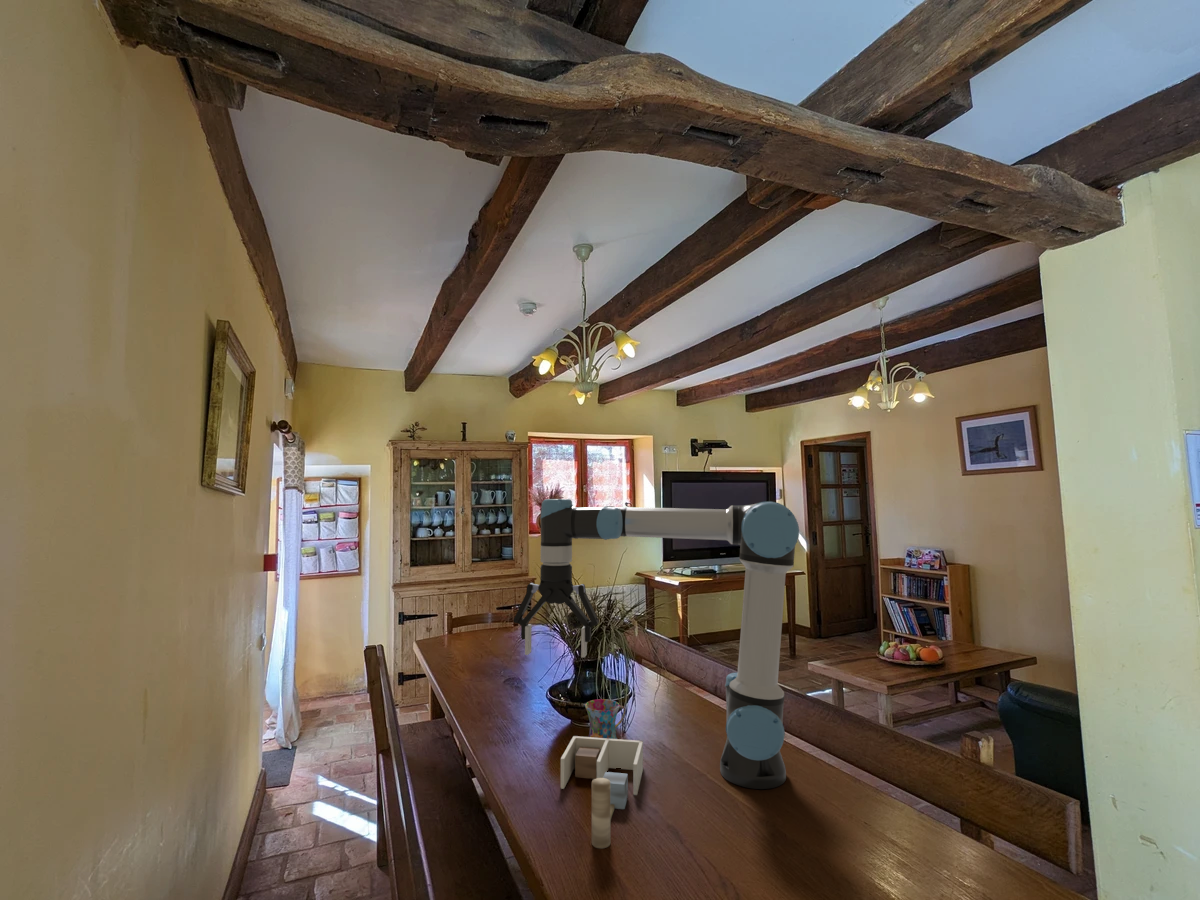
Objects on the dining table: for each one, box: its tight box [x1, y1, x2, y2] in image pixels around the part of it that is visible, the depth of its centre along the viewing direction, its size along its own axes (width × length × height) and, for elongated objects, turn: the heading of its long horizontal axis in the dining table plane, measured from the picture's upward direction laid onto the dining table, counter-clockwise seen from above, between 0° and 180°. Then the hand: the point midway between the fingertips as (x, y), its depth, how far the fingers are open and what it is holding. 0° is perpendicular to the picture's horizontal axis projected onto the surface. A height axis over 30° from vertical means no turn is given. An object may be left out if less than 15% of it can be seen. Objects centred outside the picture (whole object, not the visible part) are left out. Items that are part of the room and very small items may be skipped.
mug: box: [584, 698, 627, 739], centre depth 155 cm, size 12×9×11 cm
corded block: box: [591, 771, 629, 849], centre depth 119 cm, size 20×5×11 cm, turn 169°
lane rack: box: [560, 735, 644, 796], centre depth 136 cm, size 13×17×6 cm
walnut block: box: [574, 747, 600, 780], centre depth 139 cm, size 5×5×5 cm
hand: (555, 654), depth 137 cm, fingers open, 13 cm apart
